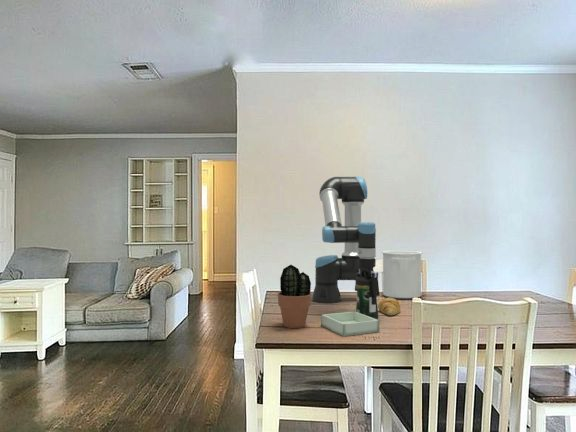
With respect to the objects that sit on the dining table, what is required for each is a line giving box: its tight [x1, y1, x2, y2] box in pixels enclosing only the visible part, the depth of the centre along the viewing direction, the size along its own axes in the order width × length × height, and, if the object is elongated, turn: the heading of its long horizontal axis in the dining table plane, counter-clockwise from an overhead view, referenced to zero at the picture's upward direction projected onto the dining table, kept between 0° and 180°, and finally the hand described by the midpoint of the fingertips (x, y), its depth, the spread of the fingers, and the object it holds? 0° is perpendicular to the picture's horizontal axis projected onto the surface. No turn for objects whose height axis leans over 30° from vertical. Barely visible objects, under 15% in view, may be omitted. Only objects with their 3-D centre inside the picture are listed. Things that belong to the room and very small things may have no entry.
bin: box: [320, 310, 380, 337], centre depth 187 cm, size 18×16×4 cm
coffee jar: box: [354, 276, 379, 320], centre depth 204 cm, size 10×8×19 cm
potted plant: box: [277, 264, 312, 329], centre depth 192 cm, size 14×14×25 cm
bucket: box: [381, 249, 423, 301], centre depth 257 cm, size 26×22×24 cm
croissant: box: [377, 297, 401, 316], centre depth 218 cm, size 21×10×8 cm, turn 170°
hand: (366, 309), depth 204 cm, fingers closed on coffee jar, 8 cm apart
